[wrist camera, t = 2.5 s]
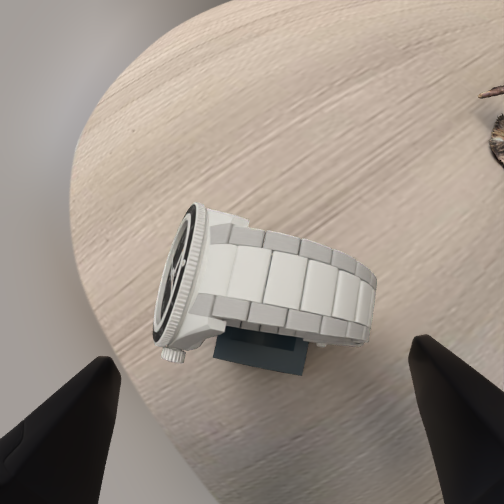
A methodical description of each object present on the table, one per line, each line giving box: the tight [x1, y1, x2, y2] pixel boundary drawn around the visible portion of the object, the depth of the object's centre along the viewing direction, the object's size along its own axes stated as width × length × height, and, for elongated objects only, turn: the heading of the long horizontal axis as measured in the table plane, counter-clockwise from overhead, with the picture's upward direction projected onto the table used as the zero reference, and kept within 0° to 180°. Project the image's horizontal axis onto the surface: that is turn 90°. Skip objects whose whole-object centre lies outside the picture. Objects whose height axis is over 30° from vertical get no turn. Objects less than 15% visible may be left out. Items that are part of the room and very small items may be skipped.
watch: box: [153, 202, 377, 376], centre depth 13 cm, size 6×8×11 cm
